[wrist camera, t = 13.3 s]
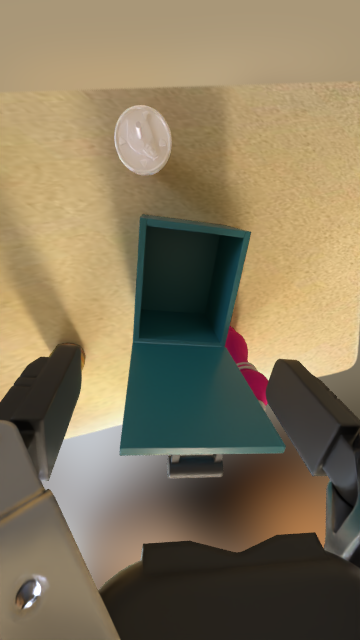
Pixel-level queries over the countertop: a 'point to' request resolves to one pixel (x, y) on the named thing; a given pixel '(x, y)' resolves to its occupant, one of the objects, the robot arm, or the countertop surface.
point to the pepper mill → (246, 366)
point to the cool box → (186, 281)
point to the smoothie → (143, 140)
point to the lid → (192, 409)
